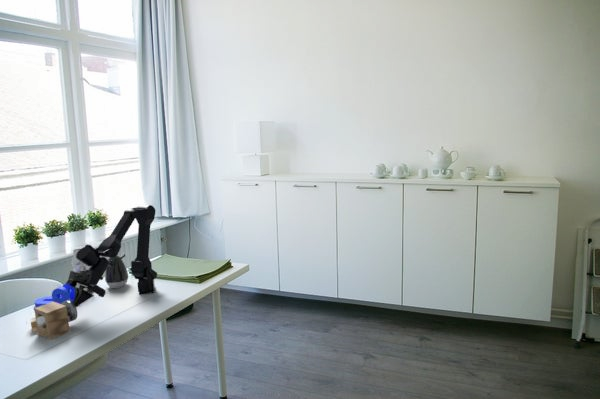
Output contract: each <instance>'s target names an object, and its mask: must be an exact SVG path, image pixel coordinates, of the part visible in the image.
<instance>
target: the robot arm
mask: <svg viewBox="0 0 600 399" xmlns="http://www.w3.org/2000/svg"><path fill="white" fill-rule="evenodd" d="M155 217H156V208H155V207H154V206H153V205H151V204H150V205H149V204H138V206H137V207H133V208H132V207H131V208H130V209H129V208H127V209H125V210H124V211H123V214H122V217H121V218H120V219H119V221H118V223H117V224H116V225H115V227H114V229H113V230H112V232H111V234H110V235H109V236H108V237H106V238H104V239H103V240H102V242H101V243H100V244H99V245H98V246H97V247H96V248H94V247H93V246H92V245H91V244H85V246H83V247H82V248H79V249H80V250H79V251H78V252H77V254H76V258H77V259H78V260H79V261H81V262H83V263H84V264H86V265H87V267H89V268H88V269H87V270H85V271H80V272H77V271H74V270H70V272H69V275H68V278H67V280H66V282H65V284H68V285H70V286H72V287H73V288H74V290H75V296H74V300H73V303H74V304H75V306H76V308H77V307H79V306H80V305H82V304H84V303H85V302H86V301H88V300H89V299H91V298H94V297H95V295H94V294H96V295H97V296H98V297H99V298H104V297H105V296H106V294H107V292H106V289H104V288H102V287H101V286H99V285H98V283H99V282H100V281H103V279H104V277H103V275H105V271H106V269H107V267H108V266H111V267H113V266H114V265H113V260H110V259H109V258H110V257H111V258H113V257H116V256H119V252H120V251H121V248H122V241H123V239H124V237H125V236H126V234H127V232H128V231H129V229H130V227H131V226H132V224H133V223H134V221H135V220H136V222H137V224H138V229H137V230H138V232H137V247H136V257H135V259H134V260H131V262H130V269H129V270H130V271H131V275H133V277H134V279H135V280H138V281H137V284H136V285H137V292H138V295H145V294H153V293H155V291H156V289H157V288H156V286H155V280H156V279H157V277H158V272H156V270H154V269H153V268H152V267H153V266H152V261H151V260H150V257H149V256H150V254H149V252H150V251H149V250H150V240H151V239H150V236H151V225H152V223H153V222H154V220H155ZM107 258H108V259H107Z"/></svg>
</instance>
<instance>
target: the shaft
mask: <svg viewBox="0 0 600 399" xmlns="http://www.w3.org/2000/svg"><path fill="white" fill-rule="evenodd" d="M61 304H62V305H65V306H66V308H67V315H68V322H69V323H70V322H73V321H75V320H77V319H78V309H77V307H76V306H75V304H74V303H73V302H72V301H71V300H67V301H64V302H62V303H61ZM37 324H38V326H39V327H42V326H44V325H46V322H45V316H40V317H37Z"/></svg>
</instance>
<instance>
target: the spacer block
mask: <svg viewBox="0 0 600 399" xmlns="http://www.w3.org/2000/svg"><path fill="white" fill-rule="evenodd" d="M30 326H31V332H32V333H35V332H38V329H37V323H36V317H32V318H30Z"/></svg>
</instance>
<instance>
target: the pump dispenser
mask: <svg viewBox="0 0 600 399" xmlns="http://www.w3.org/2000/svg"><path fill="white" fill-rule="evenodd" d="M125 257H126V254H122V255H121V256H120V255H117V256H116V257H113V258H111V257H108V259H110V260H113V265H114V266H113V267H111V266H108V267H107V269H106V271H105V272H104V281H105V283H106V284H107V286H109V288H112V289H118V288H119V289H120V288H122V287H124V286H125V285H126V284H127V283H128V279H129V273H128V269H127V266H126V264H125V262H124V261H123V258H125Z"/></svg>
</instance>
